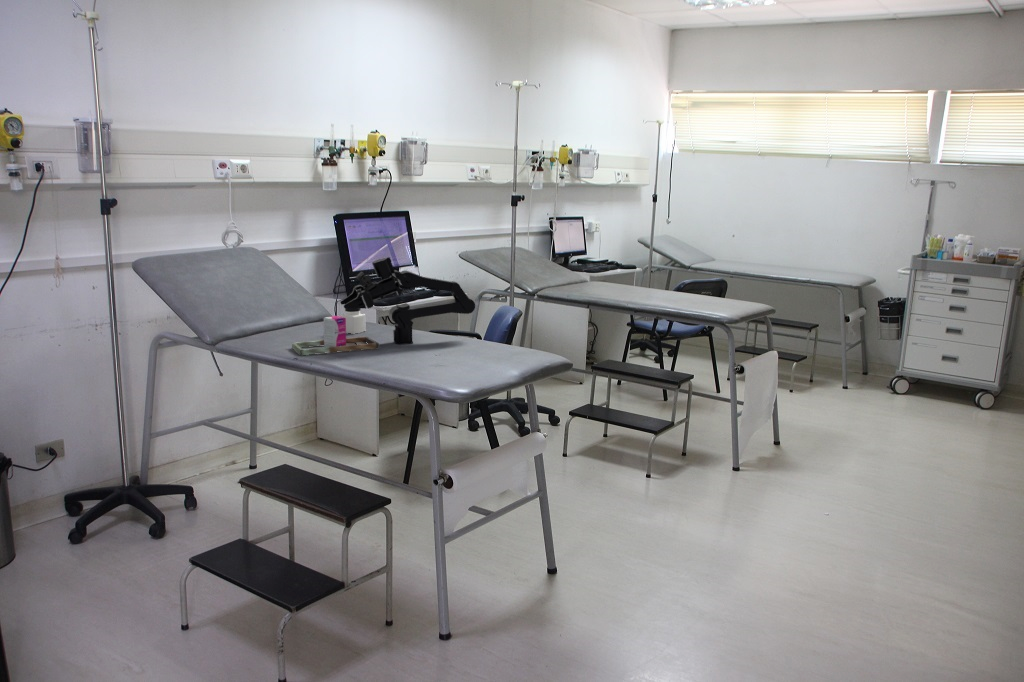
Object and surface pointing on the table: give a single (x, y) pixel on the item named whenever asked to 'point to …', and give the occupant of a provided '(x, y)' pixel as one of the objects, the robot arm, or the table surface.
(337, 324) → the supplement box
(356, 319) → the medicine bottle
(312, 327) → the table surface
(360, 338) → the box
